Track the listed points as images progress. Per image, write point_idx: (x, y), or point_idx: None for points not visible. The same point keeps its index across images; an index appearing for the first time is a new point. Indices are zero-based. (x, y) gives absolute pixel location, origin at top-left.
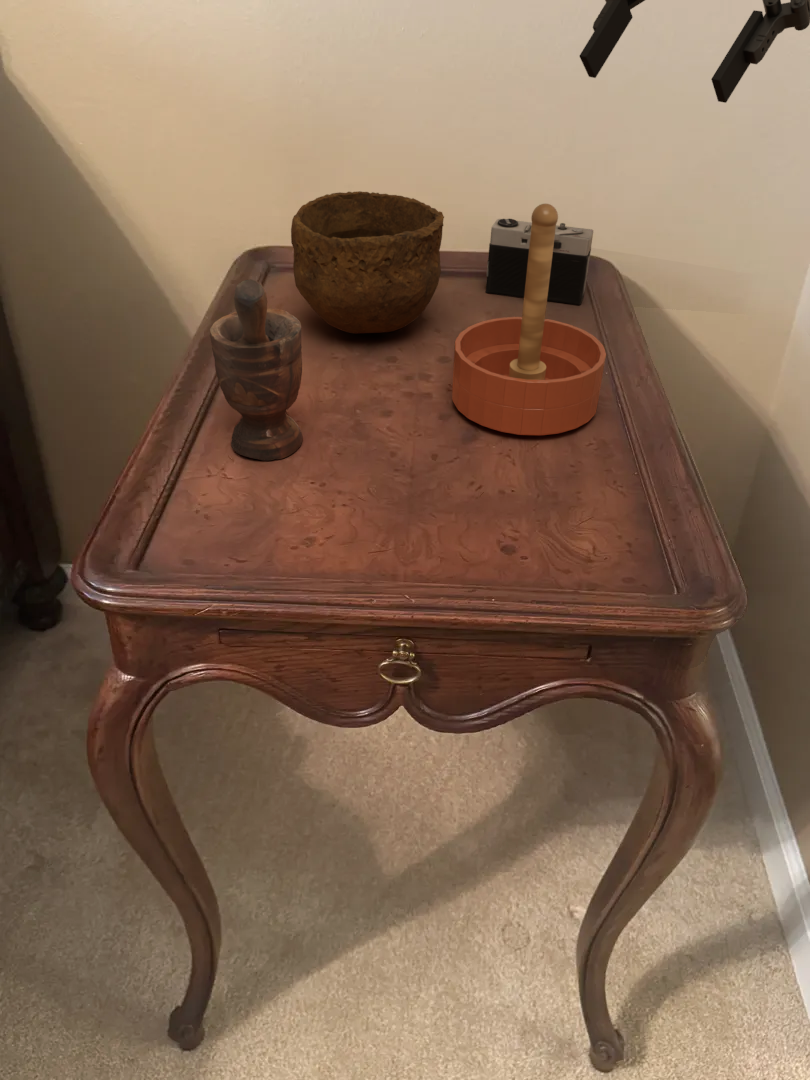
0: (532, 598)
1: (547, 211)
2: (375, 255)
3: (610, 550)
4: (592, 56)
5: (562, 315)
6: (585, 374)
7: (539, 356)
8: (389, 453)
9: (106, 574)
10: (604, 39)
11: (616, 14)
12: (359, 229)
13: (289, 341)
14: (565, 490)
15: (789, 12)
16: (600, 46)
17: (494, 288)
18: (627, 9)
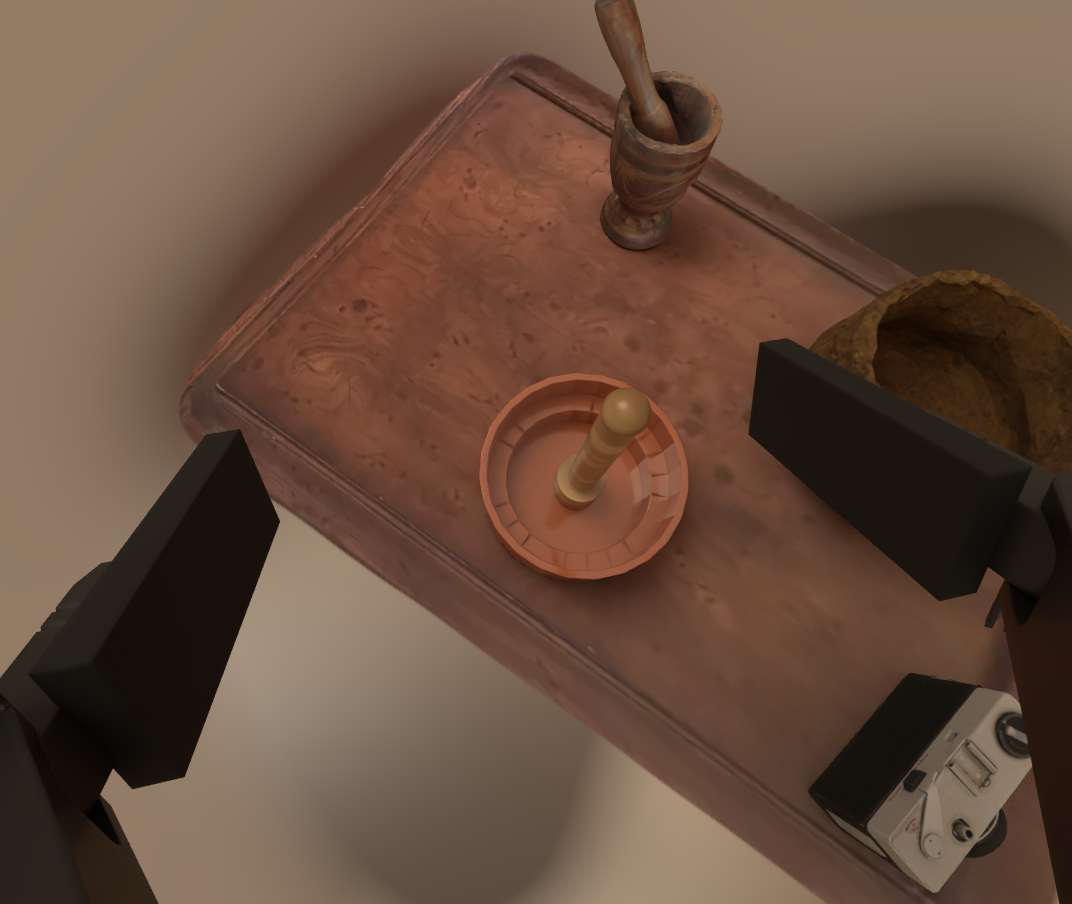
0: (295, 282)
1: (613, 398)
2: (843, 340)
3: (299, 379)
4: (770, 378)
5: (785, 732)
6: (481, 481)
7: (570, 480)
8: (558, 304)
9: (516, 60)
10: (818, 419)
11: (901, 454)
12: (1029, 440)
13: (623, 126)
14: (401, 410)
15: None
16: (800, 408)
17: (907, 683)
18: (946, 539)
